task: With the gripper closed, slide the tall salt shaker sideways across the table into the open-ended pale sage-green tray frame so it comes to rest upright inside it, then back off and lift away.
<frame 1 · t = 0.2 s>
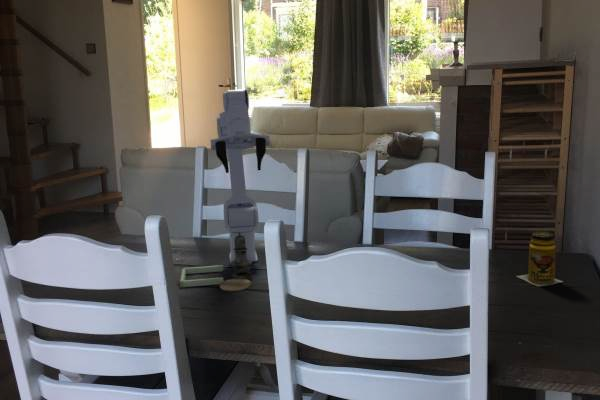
hand: (243, 169, 145), 31 cm above the table, tool tilted 45°, fingers open, 7 cm apart
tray: (204, 278, 162), on the table
salt shaker: (242, 276, 164), on the table
cork coaster: (235, 285, 156), on the table
condiment: (539, 280, 151), on the table
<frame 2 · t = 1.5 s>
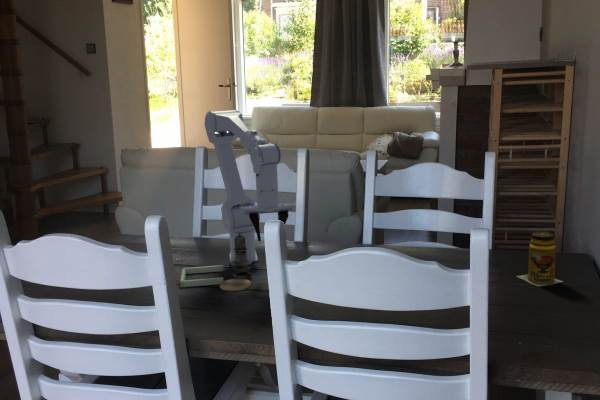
hand: (269, 239, 163), 9 cm above the table, tool pointing down, fingers open, 5 cm apart
nothing on the table moved.
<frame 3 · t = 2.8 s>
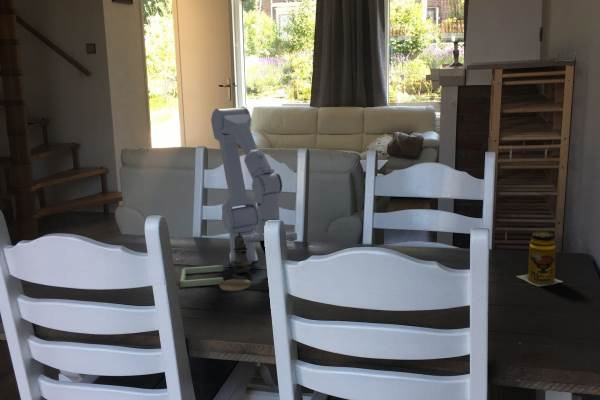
hand: (271, 267, 164), 2 cm above the table, tool pointing down, fingers closed
nothing on the table moved.
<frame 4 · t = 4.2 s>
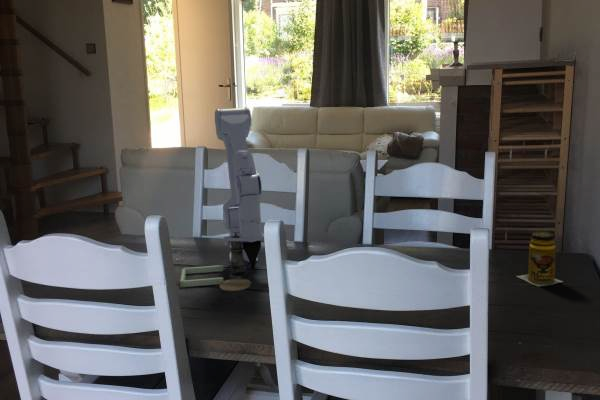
hand: (252, 268, 164), 2 cm above the table, tool pointing down, fingers closed
salt shaker: (238, 276, 163), on the table, touching gripper
everything else where it was.
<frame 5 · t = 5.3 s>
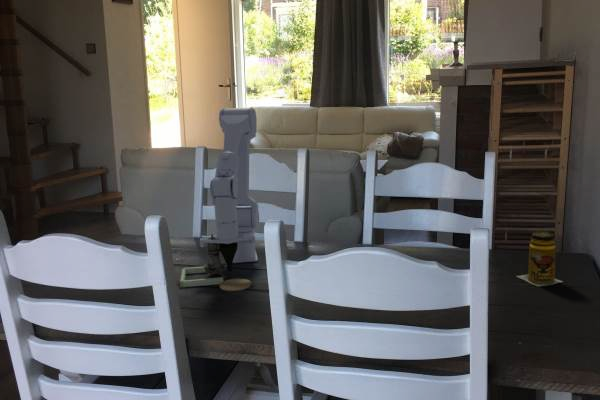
hand: (229, 270, 163), 2 cm above the table, tool pointing down, fingers closed
salt shaker: (215, 278, 163), on the table, touching gripper
everything else where it was.
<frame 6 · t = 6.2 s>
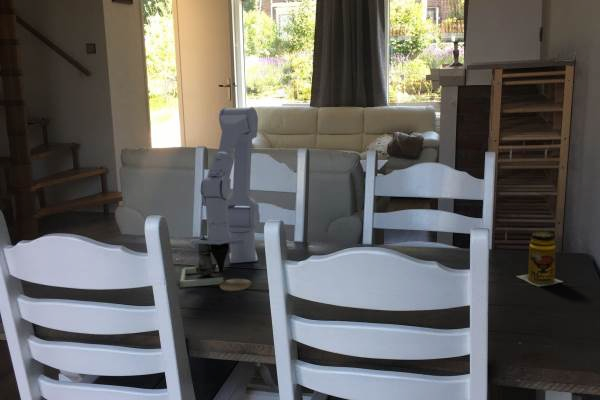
hand: (221, 271, 163), 2 cm above the table, tool pointing down, fingers closed
salt shaker: (206, 278, 162), on the table, touching gripper
everything else where it was.
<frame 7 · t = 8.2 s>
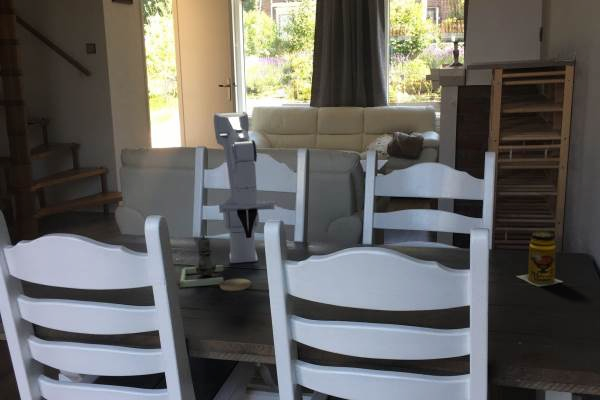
hand: (248, 237, 162), 10 cm above the table, tool pointing down, fingers closed
salt shaker: (206, 278, 162), on the table
everything else where it was.
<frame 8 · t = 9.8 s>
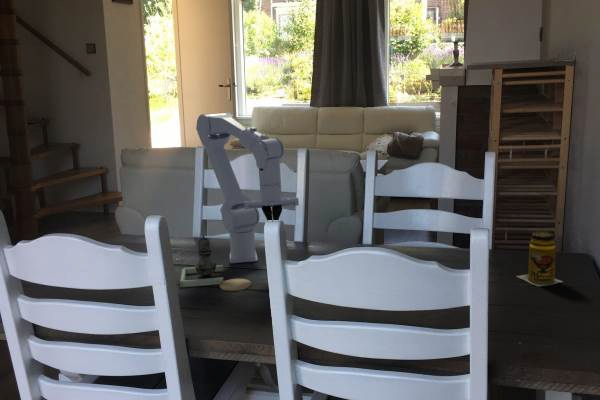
hand: (273, 233, 165), 10 cm above the table, tool pointing down, fingers closed
nothing on the table moved.
at the end: salt shaker inside the target area on the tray (0.8 cm from its centre), point 0.0 cm above the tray's base; salt shaker tilted 0°; salt shaker moved 9.5 cm from its start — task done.
